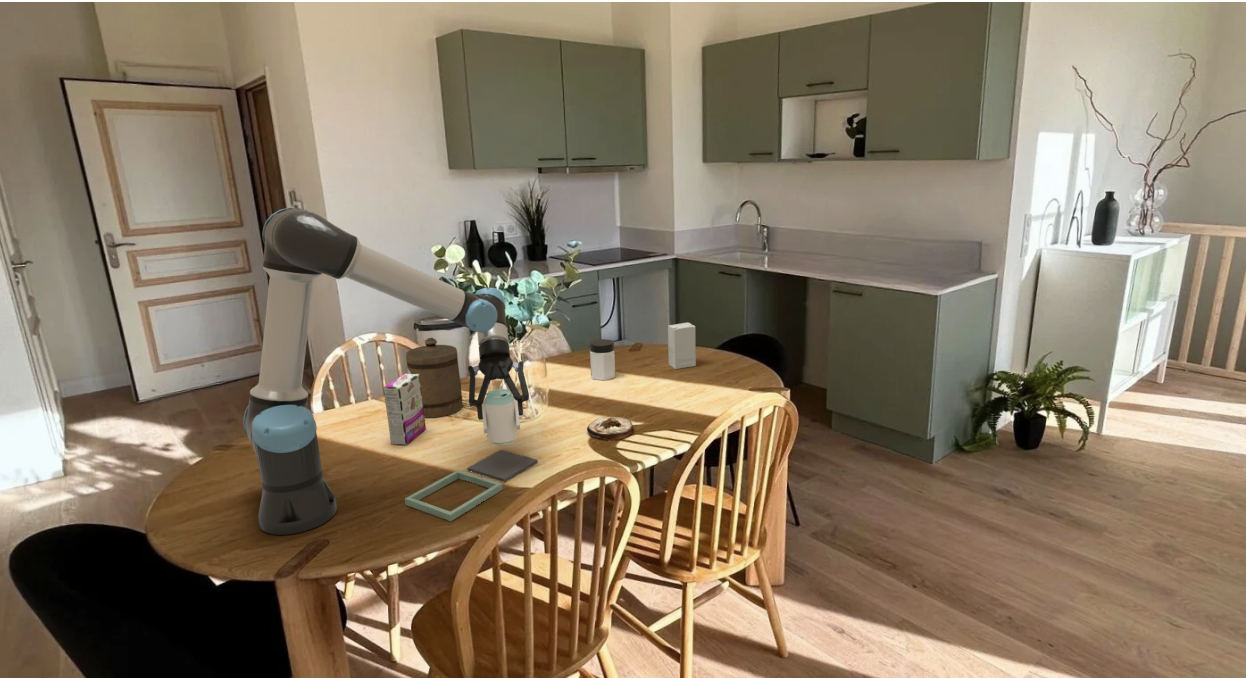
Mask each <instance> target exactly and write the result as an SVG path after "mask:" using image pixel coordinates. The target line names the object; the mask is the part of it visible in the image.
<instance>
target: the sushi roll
mask: <svg viewBox="0 0 1246 678" xmlns="http://www.w3.org/2000/svg"><path fill="white" fill-rule="evenodd" d="M633 426H634V425H633V423H632V421H631V420H630V419H628V418H626V417H617V416H603V417H598V418H596V419H594V420H593V421H592V422H590V423H589V424H588V426H587V428H586V431H587V433H588V435H589V437H592V438H594V439H597V440H605V441H608V443H610V442H612V443H613V442H615V441H620V440H623V439H625V438H627V437H629V436H630V435H633V433H632V432H631V430H632V429H633Z"/></svg>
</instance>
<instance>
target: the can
mask: <svg viewBox="0 0 1246 678" xmlns="http://www.w3.org/2000/svg"><path fill="white" fill-rule="evenodd" d="M514 401H515V398H514V397H513V395H512V393H511V391H510V389H505V388H501V389H500V388H498V389H497V388H496V389H493V390H489V391H487V392H486V396H485V399H484V402H483V404H485V410H486V422H487V434H486V436H487V441H489V442H490V443H492V444H495V445H506V444H509V443H512V442H514V440H516V439H517V437H518V433H517V431H518V430H517V427H516V417H515V402H514Z"/></svg>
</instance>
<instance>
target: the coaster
mask: <svg viewBox="0 0 1246 678" xmlns="http://www.w3.org/2000/svg"><path fill="white" fill-rule="evenodd" d="M537 462H538V459H537V458H534V457H529V456H526V455H522V454H518V453H515V452H512V451H511V452H510V451H507V450H504V449H499V450H497V451H495V452H494V453H492V454H490V455H488V456H486V457H485V458H483V459H481V460H479V461H476V463H473V464H472V465H470V466H468V467H467V468H466V470H468V471H467V472H470V471H472V472H471V473H473V472H474V473H473V474H476V473H477V474H476V475H479V474H480V476H483V475H484V476H483V477H486V476H487V477H486V478H490V479H493V480H496V481H500V482H502V483H506V482H508V481H509V480H511V479H513V478H514V477H516V476H517V475H519V474H521V473H523V472H524V471H526V470H528V469H529V467H530V468H531V467H533V466H534V464H535V465H536V464H537ZM538 463H539V462H538Z"/></svg>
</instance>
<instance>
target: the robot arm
mask: <svg viewBox="0 0 1246 678" xmlns="http://www.w3.org/2000/svg"><path fill="white" fill-rule="evenodd" d="M262 240H263V244H264V252H263V253H264V254H263V263H262V264H263V265H262V268H263V270H264V271H265V272H266V273H267V275H268V276H269V280H268V282H269V283H268V291H267V300H266V301H267V302H266V310H265V321H264V329H263V330H264V331H263V339H262V347H261V356H260V357H261V358H260V370H259V375H258V377H259V379H258V383H257V384H256V385H255V386H254V387H252V388H251V389H250V391H249V398H248V399H249V400H248V405H247V407H246V409H245V411H244V415H243V420H242V421H243V424H242V425H243V429H244V432H245V435H246V436H247V438H248V440H249V441H250V444H251V446H252V447H253V450H254V452H255V455H256V459H257V464H258V469H259V476H260V481H261V486H262V493H261V499H260V502H259V503H260V505H259V510H258V515H257V516H258V517H257V518H258V524H259V528H260V530H262V532H265V533H267V534H270V535H276V536H279V535H281V536H283V535H284V536H285V535H293V534H299V533H302V532H303V533H304V532H306V531H307V532H308V531H309V530H312V529H315V528H318V527H320V526H321V525H324V524H325V523H326V522H329V520H331V519H333V517H334V516H335V514H336V512H337V509H338V504H337V499H336V497H335V495H334V493H333V491H332V490H331V488H330V486H329V485H328V483H327V481H326V479H325V477H324V471H323V467H322V460H321V453H320V448H319V441H318V433H317V431H318V428H317V422H316V420H315V417H314V414H313V412H312V411H311V410H310V409H309V408H307V407H308V398H309V394H308V392H307V391H306V389H304V387H303V386H302V385H303V384H302V383H303V375H304V367H305V359H306V349H307V341H308V332H309V331H308V330H309V323H310V315H311V314H310V313H311V305H312V296H313V287H314V282H315V281H316V280H317V279H318V278H320V277H321V276H322V274H323V275H326V276H329V277H332V278H334V279H336V280H341V279H344V278H347V279H349V280H351V281H354V282H356V283H359V284H361V285H364V286H366V287H369V288H372V289H373V290H375V291H378V292H381V293H384V294H385V295H388V296H391V297H393V298H395V299H398V300H400V301H402V302H404V303H407V304H410V305H411V306H414V307H417V308H418V309H419V308H420V309H422V310H424V311H427V312H429V313H431V314H432V316H436V317H438V318H441V319H446V320H448V321H451V322H452V323H456V324H457V325H460V326H462V327H465V328H467V329H468V330H470V331H473V332H476V333H477V344H478V355H479V362H478V364H477V365H475V366H472V365H469V366H468V367H467V371H468V376H469V385H468V387H469V388H468V406H469V407H471V408H472V407H473V408H474V407H475V408H476V410H477V411H476V412H477V418H478V420H479V421H481V420H482V424H483V425H482V426H483V434H484V435H487V422H486V410H485V404H484V400H485V398H486V397H487V395H486V394H487V393H488V389H489V387H490V386H489V385H490V383H491V381H495V380H503V381H504V382H505V384H506V386H507V388H508V390H509V391H511V395H512V396H513V397H514V402H515V417H516V429H517V431H521V423H520V416H524V404H523V403H524V402H528V401H529V400H530V398H529V397H530V393H529V389H528V386H527V382H526V378H525V373H524V361H522V360H520V361H519V362H516V361H515V362H514V361H513V360H512V358H511V351H510V350H511V349H510V344H509V333H508V326H507V324H508V323H507V317H506V315H507V314H506V304H505V299H504V295H503V293H502V291H500V290H499V289H497V288H496V287H489V288H488V287H487V288H486V287H483V288H480V289H478V290H477V291H476V292H475V293H471V292H467V291H465V290H463V289H460V288H458V287H456V286H454V285H451V284H449V283H448V282H445V281H443V280H441V279H439V278H436V277H434V276H432V275H430V274H427V273H425V272H423V271H421V270H418V269H417V268H415V267H412V266H410V265H407V264H405V263H403V262H401V261H399V260H396V259H394V258H393V257H390V256H387V255H386V254H384V253H382V252H379V251H377V250H375V249H372V248H370V247H368V246H365V245H363V244H362V243H361V242H360V239H359V238H358V237H357V236H355V235H353V234H351V233H348V232H347V231H345V230H343V229H342V228H340V227H338V226H336V225H335V224H333V223H332V222H330V221H329V220H327V219H326V218H324V217H322V216H321V215H319V214H317V213H315V212H313V211H310V210H309V211H308V210H307V209H304V208H300V207H287V208H285V207H284V208H283V209H279V210H277V211H276V212H274V213H272V214H271V215H270V216H269V217H268V218H267V219H266V221H265V223H264V226H263V228H262ZM512 368H513V369H514V371H515V372H516V373H517V376H518V378H517V379H518V381H519V386H520V390H521V393H522V394H521V393H520V392H519V390H518V388H517V386H516V384H515V382H514V381H513V378H512V377H511V375H510V372H511V371H512ZM478 372H480V373H481V374H483V375H484V376H483V377H484V378H483V380H482V384H481V387H480V390H479V393H478V396H477V399H476V376H478V374H479V373H478Z"/></svg>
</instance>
